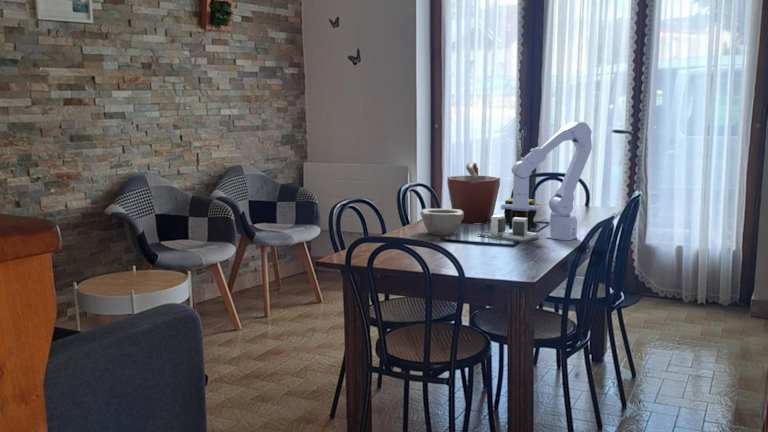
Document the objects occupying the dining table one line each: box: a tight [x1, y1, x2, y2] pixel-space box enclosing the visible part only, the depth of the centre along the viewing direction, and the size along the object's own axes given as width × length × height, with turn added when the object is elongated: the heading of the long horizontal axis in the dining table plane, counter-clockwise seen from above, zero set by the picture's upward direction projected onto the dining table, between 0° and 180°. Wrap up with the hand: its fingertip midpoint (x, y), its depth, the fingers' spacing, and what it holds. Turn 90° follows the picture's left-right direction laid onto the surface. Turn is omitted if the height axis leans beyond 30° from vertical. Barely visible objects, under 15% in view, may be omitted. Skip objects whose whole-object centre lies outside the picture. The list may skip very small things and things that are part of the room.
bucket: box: [446, 162, 501, 225], centre depth 306 cm, size 24×22×25 cm
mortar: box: [420, 208, 464, 236], centre depth 278 cm, size 17×17×9 cm
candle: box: [504, 197, 535, 226], centre depth 302 cm, size 10×10×10 cm
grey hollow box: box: [477, 214, 539, 243], centre depth 271 cm, size 20×11×8 cm, turn 51°
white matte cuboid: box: [511, 217, 528, 237], centre depth 267 cm, size 4×5×7 cm
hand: (519, 229), depth 268 cm, fingers open, 6 cm apart
